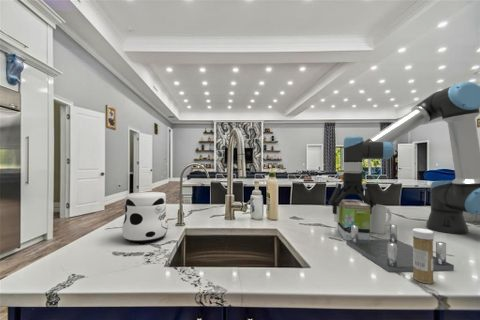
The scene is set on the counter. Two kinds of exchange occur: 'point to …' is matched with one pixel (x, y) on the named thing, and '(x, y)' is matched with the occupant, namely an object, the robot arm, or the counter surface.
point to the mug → (379, 219)
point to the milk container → (145, 216)
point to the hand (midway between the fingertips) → (351, 221)
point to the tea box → (354, 219)
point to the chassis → (395, 252)
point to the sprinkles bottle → (423, 255)
